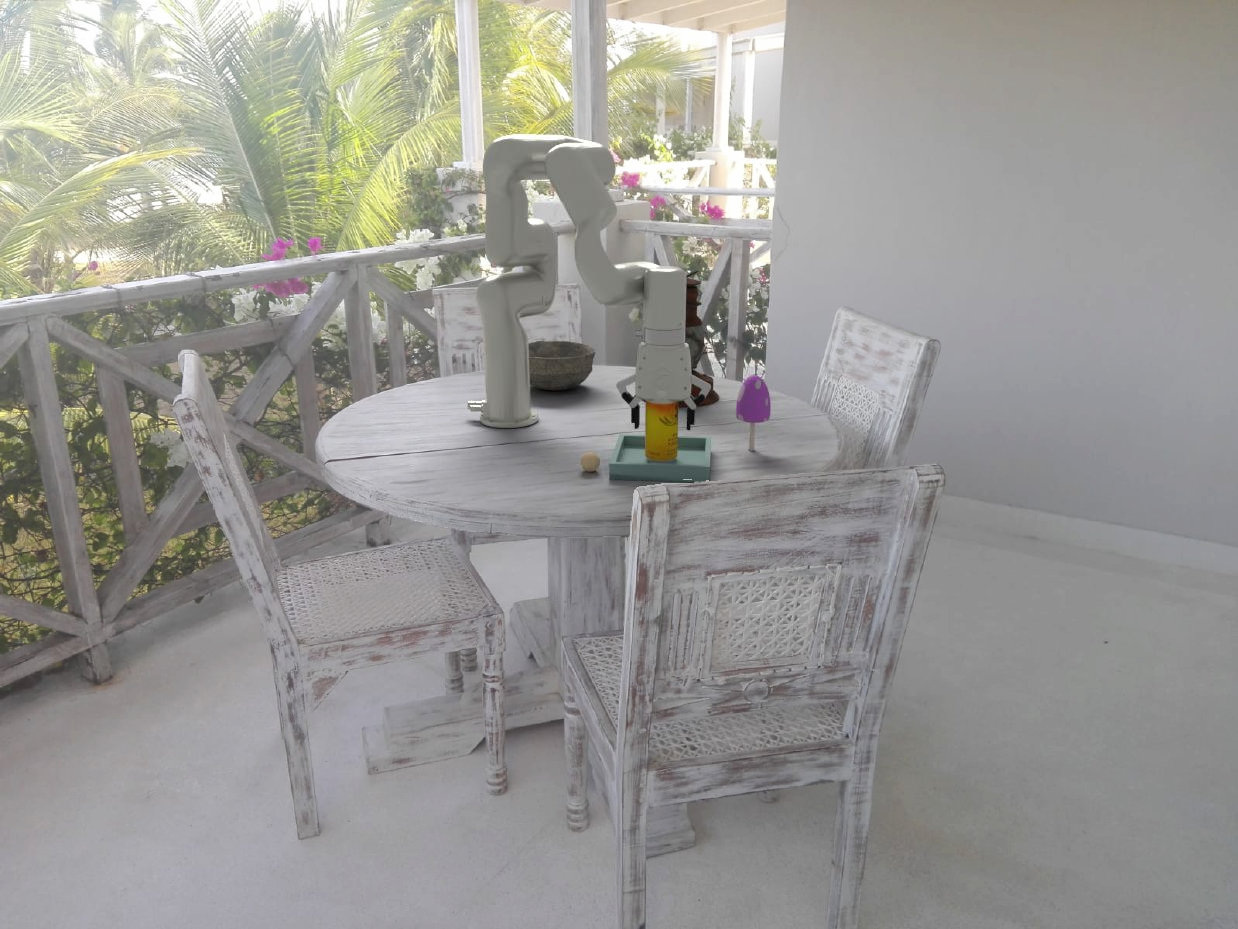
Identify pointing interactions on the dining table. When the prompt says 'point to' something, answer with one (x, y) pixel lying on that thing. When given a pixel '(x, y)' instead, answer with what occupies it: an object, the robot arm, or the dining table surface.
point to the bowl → (559, 364)
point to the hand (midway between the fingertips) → (662, 427)
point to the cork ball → (590, 461)
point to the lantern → (695, 342)
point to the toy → (753, 404)
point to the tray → (686, 465)
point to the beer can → (661, 429)
